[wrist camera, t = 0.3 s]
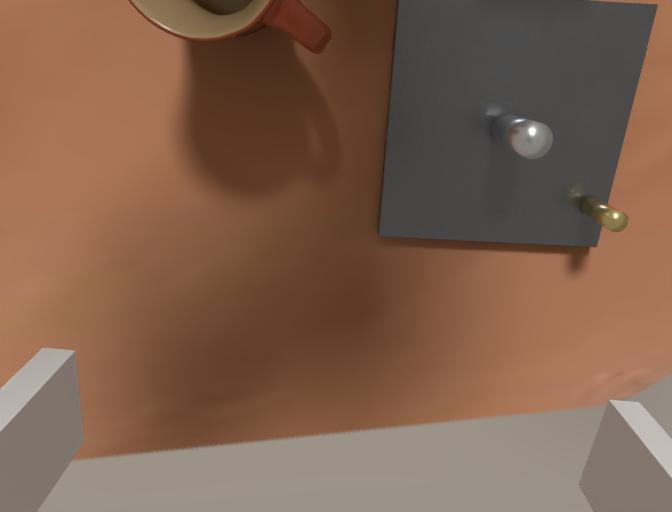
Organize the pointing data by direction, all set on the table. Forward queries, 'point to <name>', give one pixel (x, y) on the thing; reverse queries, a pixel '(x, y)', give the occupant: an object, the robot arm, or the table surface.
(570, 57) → the post plate
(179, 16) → the mug
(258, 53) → the table surface
